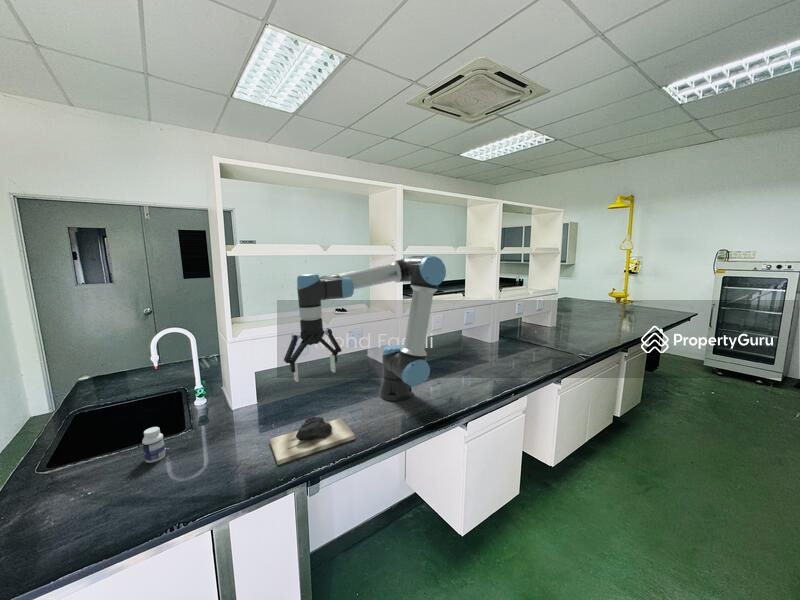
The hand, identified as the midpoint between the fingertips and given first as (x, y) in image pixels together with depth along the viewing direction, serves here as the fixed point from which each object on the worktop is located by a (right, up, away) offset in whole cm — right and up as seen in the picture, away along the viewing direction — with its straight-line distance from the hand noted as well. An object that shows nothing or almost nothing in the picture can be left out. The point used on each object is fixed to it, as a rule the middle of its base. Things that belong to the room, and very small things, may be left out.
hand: (315, 375), depth 115 cm
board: (0, -22, -3) cm, 22 cm away
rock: (0, -21, -3) cm, 21 cm away
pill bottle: (-49, -24, -12) cm, 56 cm away
